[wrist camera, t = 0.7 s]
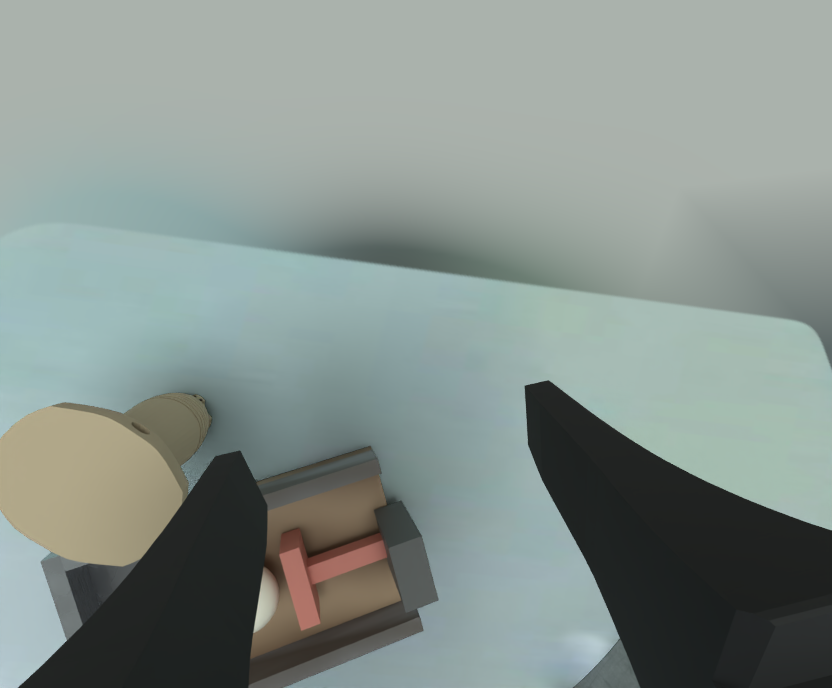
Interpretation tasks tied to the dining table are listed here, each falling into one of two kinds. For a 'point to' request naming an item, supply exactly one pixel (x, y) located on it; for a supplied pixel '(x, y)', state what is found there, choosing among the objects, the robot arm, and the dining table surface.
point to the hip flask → (612, 671)
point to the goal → (80, 588)
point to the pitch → (338, 596)
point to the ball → (266, 599)
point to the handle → (100, 475)
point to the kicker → (360, 563)
